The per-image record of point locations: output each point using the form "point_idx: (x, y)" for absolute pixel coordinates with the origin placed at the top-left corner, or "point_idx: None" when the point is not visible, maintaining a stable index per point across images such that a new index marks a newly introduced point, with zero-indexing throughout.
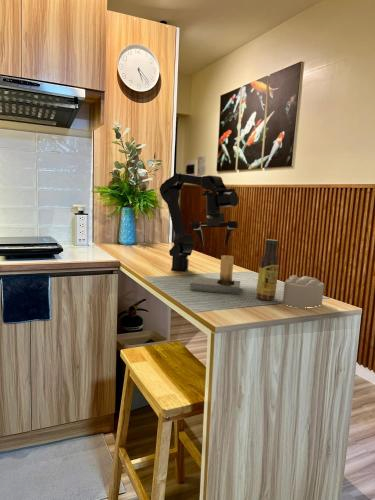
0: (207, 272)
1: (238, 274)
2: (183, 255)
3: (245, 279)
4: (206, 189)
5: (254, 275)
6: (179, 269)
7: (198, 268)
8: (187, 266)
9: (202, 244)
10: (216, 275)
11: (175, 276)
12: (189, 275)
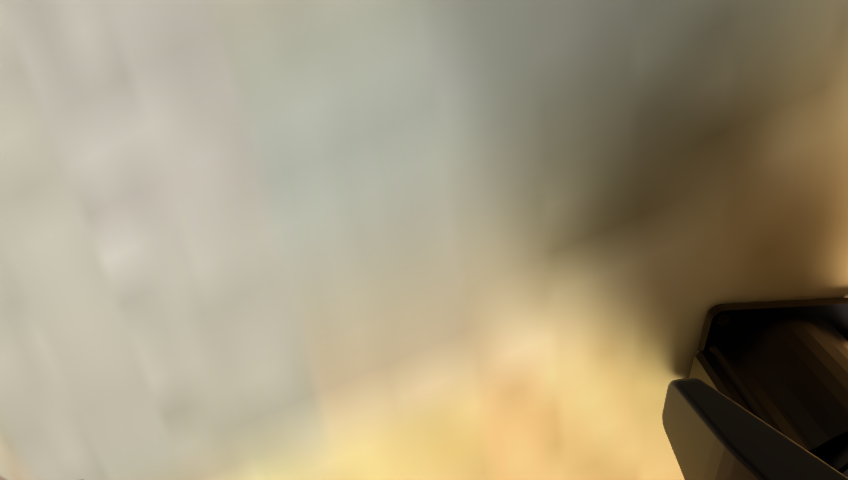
0: (478, 364)
1: (173, 411)
2: (837, 464)
3: (28, 241)
4: None
5: (21, 435)
6: (779, 316)
7: (578, 468)
8: (708, 373)
9: (724, 417)
10: (369, 283)
11: (843, 22)
12: (664, 154)
